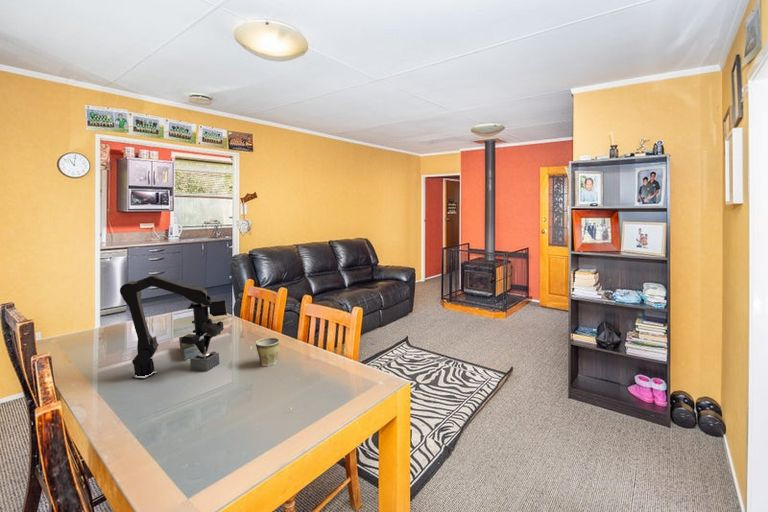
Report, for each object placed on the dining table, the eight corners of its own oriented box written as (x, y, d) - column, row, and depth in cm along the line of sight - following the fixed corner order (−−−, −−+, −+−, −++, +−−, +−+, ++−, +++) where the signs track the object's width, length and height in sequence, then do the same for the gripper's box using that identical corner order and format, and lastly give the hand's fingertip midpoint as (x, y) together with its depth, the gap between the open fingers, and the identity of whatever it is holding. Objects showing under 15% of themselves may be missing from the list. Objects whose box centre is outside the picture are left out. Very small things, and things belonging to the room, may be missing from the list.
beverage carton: (184, 361, 174) (182, 347, 173) (179, 349, 190) (178, 336, 189) (203, 357, 178) (202, 344, 177) (197, 345, 194) (196, 333, 193)
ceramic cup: (273, 368, 164) (272, 346, 162) (252, 367, 166) (251, 344, 164) (287, 357, 176) (286, 335, 175) (267, 355, 178) (266, 334, 177)
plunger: (206, 368, 164) (204, 349, 163) (196, 367, 165) (194, 348, 164) (214, 363, 169) (212, 344, 168) (204, 362, 170) (203, 344, 169)
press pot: (206, 371, 162) (205, 360, 162) (191, 369, 164) (190, 358, 164) (222, 362, 172) (221, 351, 171) (207, 360, 174) (206, 350, 173)
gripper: (201, 325, 153) (204, 362, 155) (231, 312, 171) (234, 346, 173) (178, 323, 156) (181, 360, 158) (210, 311, 174) (213, 344, 176)
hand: (204, 352), depth 166 cm, fingers closed on plunger, 2 cm apart
